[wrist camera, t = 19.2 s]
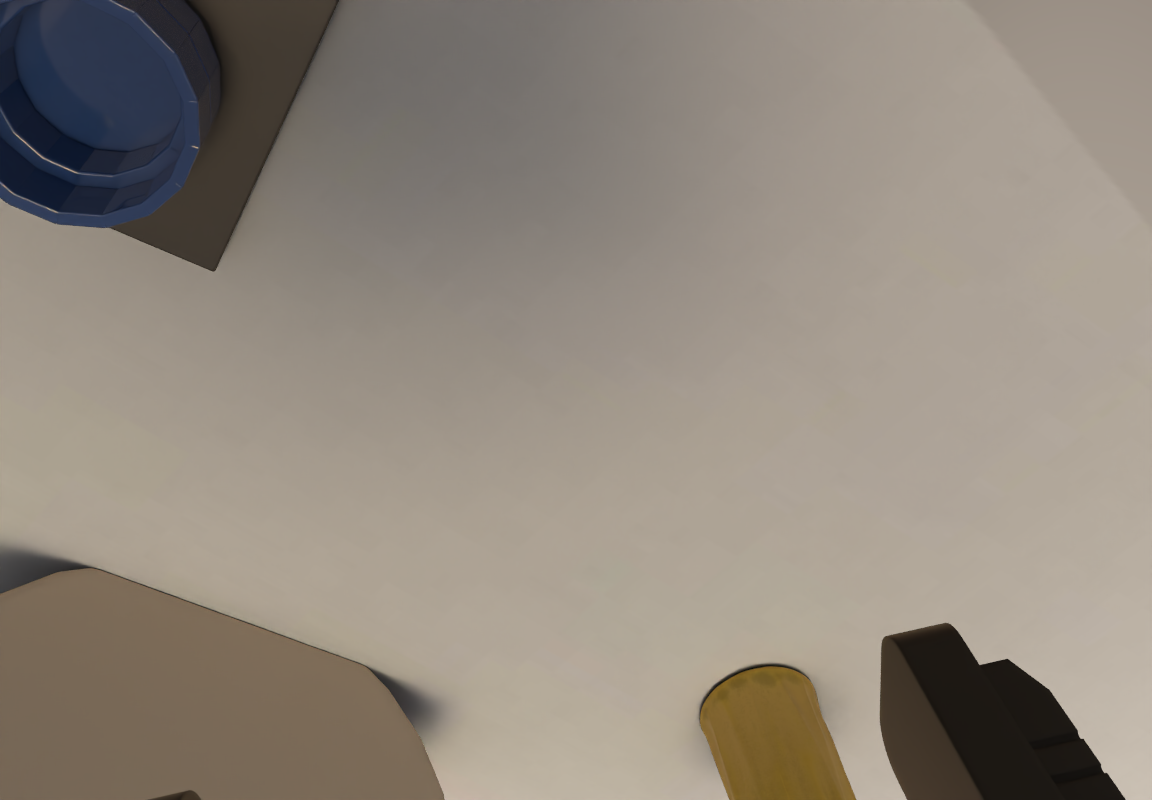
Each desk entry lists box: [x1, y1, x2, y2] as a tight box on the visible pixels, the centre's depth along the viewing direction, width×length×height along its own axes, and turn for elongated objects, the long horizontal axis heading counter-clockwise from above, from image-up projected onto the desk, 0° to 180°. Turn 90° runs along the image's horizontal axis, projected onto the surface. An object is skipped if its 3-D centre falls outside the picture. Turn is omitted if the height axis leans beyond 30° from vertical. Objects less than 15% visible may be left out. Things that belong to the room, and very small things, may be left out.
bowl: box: [0, 0, 221, 228], centre depth 28 cm, size 6×6×4 cm
